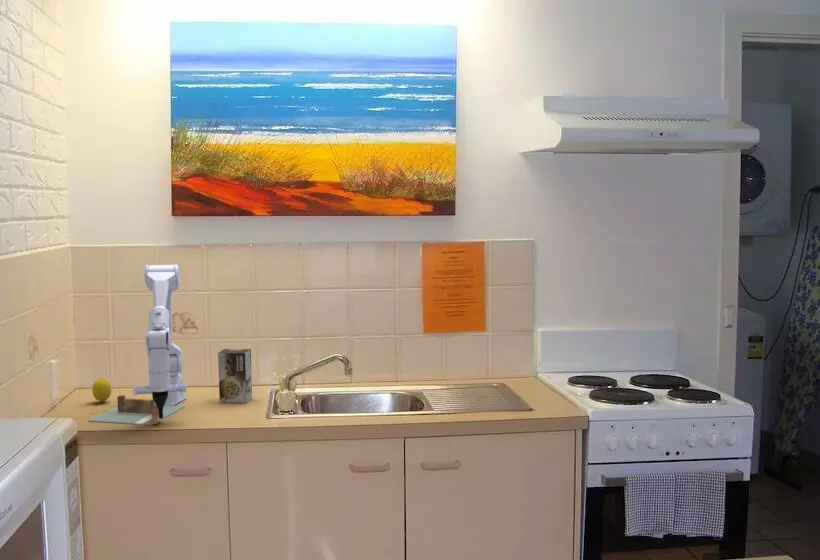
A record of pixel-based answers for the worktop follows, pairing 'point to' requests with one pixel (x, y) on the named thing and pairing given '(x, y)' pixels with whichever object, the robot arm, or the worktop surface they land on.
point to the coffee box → (235, 375)
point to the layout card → (133, 416)
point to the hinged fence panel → (155, 414)
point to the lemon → (101, 390)
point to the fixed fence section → (134, 405)
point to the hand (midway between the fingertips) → (160, 417)
